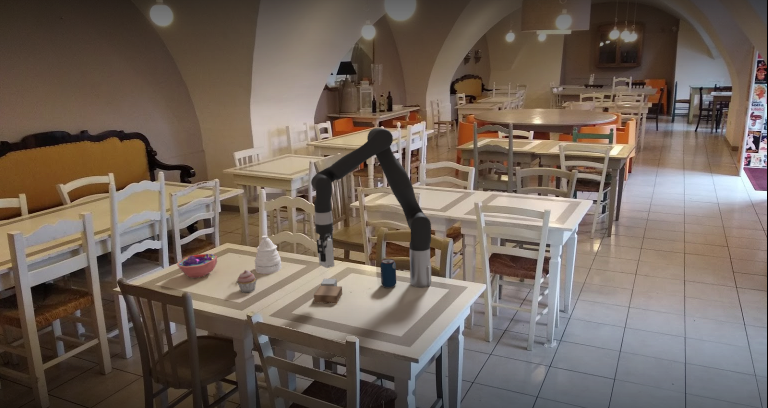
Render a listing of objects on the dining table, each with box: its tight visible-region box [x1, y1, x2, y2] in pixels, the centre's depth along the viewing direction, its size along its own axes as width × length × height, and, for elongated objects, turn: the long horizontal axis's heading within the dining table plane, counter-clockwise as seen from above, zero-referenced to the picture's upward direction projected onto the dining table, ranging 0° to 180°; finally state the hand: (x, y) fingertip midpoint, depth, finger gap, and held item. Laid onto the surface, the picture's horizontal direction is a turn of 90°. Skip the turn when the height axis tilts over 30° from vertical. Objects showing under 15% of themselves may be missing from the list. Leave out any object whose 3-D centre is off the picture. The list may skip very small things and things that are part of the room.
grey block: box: [320, 278, 338, 286], centre depth 253 cm, size 6×6×4 cm
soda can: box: [380, 258, 397, 289], centre depth 254 cm, size 7×7×12 cm
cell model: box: [176, 253, 218, 279], centre depth 275 cm, size 17×20×11 cm
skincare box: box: [316, 237, 335, 269], centre depth 238 cm, size 6×4×12 cm
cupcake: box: [236, 269, 258, 294], centre depth 254 cm, size 9×9×10 cm
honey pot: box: [254, 235, 282, 275], centre depth 279 cm, size 13×13×18 cm
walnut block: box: [313, 285, 343, 304], centre depth 243 cm, size 10×10×4 cm
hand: (326, 258), depth 239 cm, fingers closed on skincare box, 7 cm apart
